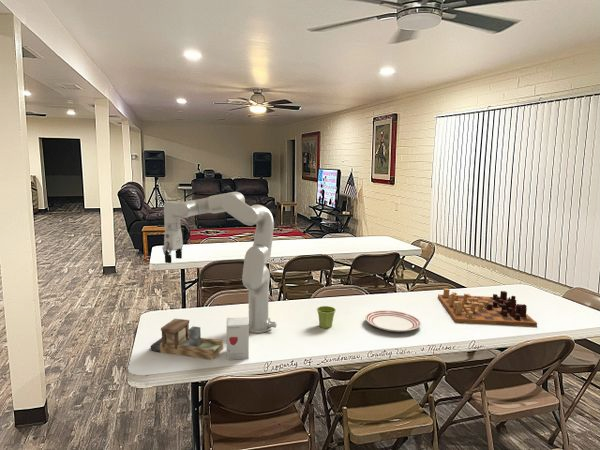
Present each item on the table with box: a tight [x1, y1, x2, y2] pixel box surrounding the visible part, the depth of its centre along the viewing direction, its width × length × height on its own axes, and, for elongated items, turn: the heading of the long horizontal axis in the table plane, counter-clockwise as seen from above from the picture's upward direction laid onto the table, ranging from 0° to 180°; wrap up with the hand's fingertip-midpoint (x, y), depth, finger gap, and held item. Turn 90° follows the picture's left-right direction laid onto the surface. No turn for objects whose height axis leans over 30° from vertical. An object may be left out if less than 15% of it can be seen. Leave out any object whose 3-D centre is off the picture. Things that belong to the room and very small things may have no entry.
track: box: [150, 318, 224, 361], centre depth 182 cm, size 28×11×11 cm, turn 76°
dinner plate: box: [365, 309, 422, 333], centre depth 214 cm, size 28×27×3 cm
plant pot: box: [316, 305, 336, 329], centre depth 211 cm, size 9×9×9 cm
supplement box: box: [226, 316, 250, 361], centre depth 178 cm, size 9×9×15 cm
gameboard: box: [437, 288, 538, 327], centre depth 236 cm, size 40×40×9 cm
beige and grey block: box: [166, 325, 202, 347], centre depth 182 cm, size 14×6×8 cm, turn 76°
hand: (173, 260), depth 212 cm, fingers open, 9 cm apart
